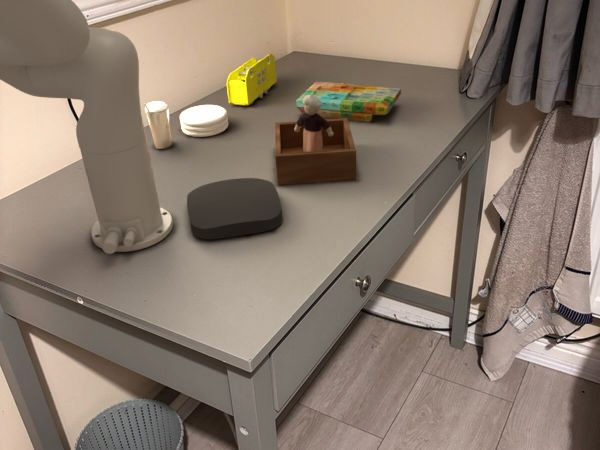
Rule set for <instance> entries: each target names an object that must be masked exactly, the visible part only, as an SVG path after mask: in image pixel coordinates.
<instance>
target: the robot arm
mask: <svg viewBox="0 0 600 450" xmlns="http://www.w3.org/2000/svg"><path fill="white" fill-rule="evenodd" d="M139 62H140V60H139V56H138V52H137V49H136V46H135V44H134V43H133V42H132V40H131V39H130V38H129V37H128V36H127V35H126V34H123V33H122V32H119V31H117V30H115V29H111V28H106V27H90V26H89V23H88V21H87V18H86V16H85V14H84V13H83V12H82V10H81V9H80V8H79V6H78V5H77V4H76V3H75V2H74V1H73V0H0V81H2V82H4V83H6V84H7V85H9V86H10V87H12V88H14V89H16V90H17V91H20V92H22V93H24V94H26V95H29V96H32V97H38V98H45V99H68V100H69V99H70V100H78V101H82V102H83V109H82V111H81V113H80V115H79V117H78V120H77V123H76V126H75V128H76V129H75V131H76V132H75V134H76V140H77V143H78V148H79V150H80V154H81V158H82V163H83V165H84V169H85V174H86V177H87V181H88V184H89V189H90V194H91V198H92V200H93V204H94V208H95V212H96V216H97V221H96V222H94V224H93V225H92V227H91V230H90V236H91V239H92V243H94V244H95V246H96V247H98V248H100V249H102V251H103V253H104V254H108V255H112V254H115V253H116V252H117V253H126V252H134V251H140V250H142V249H146V248H149V247H151V246H153V245H156V244H157V243H160V242H161V241H162V240H164V239H165V238H166V237H167V236H169V234H170V233H171V231H172V229H173V226H174V221H173V216H172V214H171V213H170V212H169V211H168V210H167V209H165V208H163V207H161V205H160V202H159V201H160V200H159V196H158V191H157V185H156V181H155V180H156V179H155V175H154V170H153V165H152V160H151V154H150V151H149V150H150V149H149V145H148V140H147V134H146V130H145V125H144V124H145V123H144V120H143V114H142V107H141V106H142V105H141V97H140V63H139Z"/></svg>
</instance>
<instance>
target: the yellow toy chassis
mask: <svg viewBox="0 0 600 450" xmlns="http://www.w3.org/2000/svg"><path fill="white" fill-rule="evenodd" d="M225 83H226V90H227V91H226V92H227V99H228V104H233V105H238V106H251V105H252V104H253V103H254V101H255V100H256V99H258V98H259V99H263V97H264V94H266V95H267V94H268V91H269V90H270V89H271V87H273V85H275V84H276V83H277V70H276V57H275V56H274V55H273V53H268V54H267V55H266V56H264V57H263V58H261V59H258V60H257V59H256V58H255V57H251V58H250V59H249V60H247V61H246V62H244V63H243V64H241V65H240V66H239V67H237V68H236V69H234V70H233V71H232V72H230V73H229V74H228V77H227V80H226V81H225Z"/></svg>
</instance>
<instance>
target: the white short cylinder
mask: <svg viewBox="0 0 600 450" xmlns="http://www.w3.org/2000/svg"><path fill="white" fill-rule="evenodd" d="M228 120H229V117H228V111H227V109H226V108H224V107H223V106H220V105H217V104H202V105H196V106H191V107H189V108H187V109H184V110H183V111H182V112H181V113H180V114H179V121H180V128H181V131H182V133H183V134H185V135H186V136H189V137H194V138H204V137H205V138H206V137H213V136H217V135H219V134H221V133H223V132H224V131H226V129H228V127H229V121H228Z"/></svg>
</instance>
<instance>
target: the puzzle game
mask: <svg viewBox="0 0 600 450" xmlns="http://www.w3.org/2000/svg"><path fill="white" fill-rule="evenodd" d="M401 94H402V88H398V87H397V88H396V87H385V86H384V87H383V86H371V85H361V84H351V83H345V82H340V83H337V82H327V81H315V82H313V83H312V85H310V86H309V87H308V88H307V89H306V90H305V91H304V92H303V93H302V94H301V95H300V96H299V97H298V98H297V99H296V100H295V107H296V109H298V110H299V112H300V113H301V114H302V115H303V114H304V113H306V112H305V110H304V104H303V99H304V97H305V96H306V95H315V96H316V97H317V98H318V99H319V100H320V101H321V104H322V105H323V106H321V108H320V109H319V110H318V112H317V114H319V115H320V116H321V117H323V118H325V119H326V118H327V119H340V118H347V119H348V121H358V122H359V121H360V122H371V121H372V119H373V118H374V117H375V116H386V115H387V114H389V112H390V111H391V109H392V108H393V106H394V105H395V103H396V102H397V100H398V99H399V98H400V96H401Z"/></svg>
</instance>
